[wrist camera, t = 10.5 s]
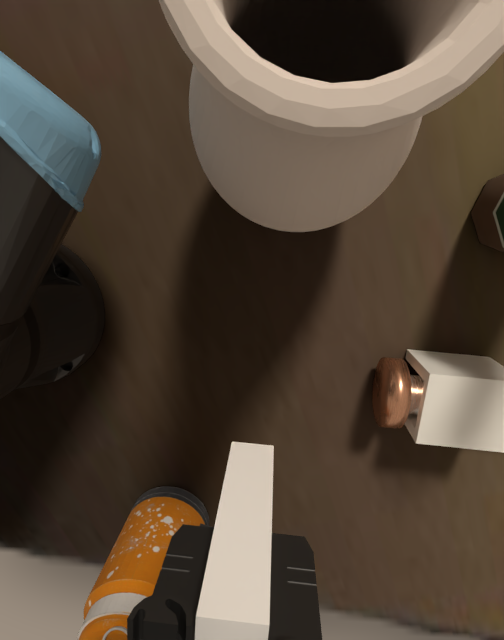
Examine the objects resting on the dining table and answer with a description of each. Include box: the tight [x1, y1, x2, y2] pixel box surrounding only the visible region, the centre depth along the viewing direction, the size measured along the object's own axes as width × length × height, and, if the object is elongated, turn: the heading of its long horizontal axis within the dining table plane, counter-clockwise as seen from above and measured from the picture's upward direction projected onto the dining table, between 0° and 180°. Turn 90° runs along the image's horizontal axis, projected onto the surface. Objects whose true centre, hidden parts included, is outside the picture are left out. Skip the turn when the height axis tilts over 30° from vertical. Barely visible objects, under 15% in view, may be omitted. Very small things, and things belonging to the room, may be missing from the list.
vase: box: [159, 0, 504, 232], centre depth 22 cm, size 14×14×30 cm
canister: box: [77, 486, 214, 640], centre depth 37 cm, size 9×11×20 cm
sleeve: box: [405, 349, 504, 452], centre depth 38 cm, size 8×7×6 cm
